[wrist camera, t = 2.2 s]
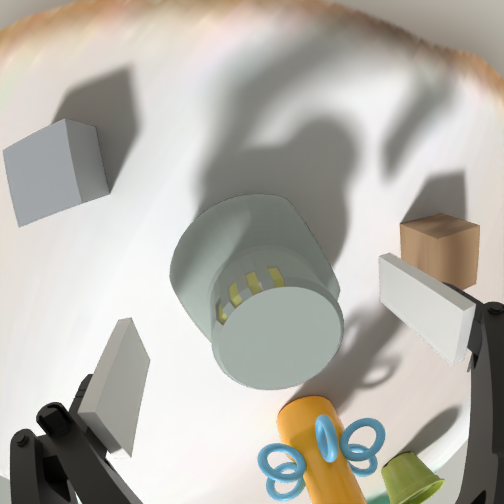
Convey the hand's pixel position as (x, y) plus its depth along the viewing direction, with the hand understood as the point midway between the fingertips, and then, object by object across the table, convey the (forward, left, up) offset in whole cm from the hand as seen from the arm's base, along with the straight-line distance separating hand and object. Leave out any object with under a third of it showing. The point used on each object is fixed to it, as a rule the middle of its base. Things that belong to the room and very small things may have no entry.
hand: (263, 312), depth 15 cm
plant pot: (-16, +39, -8) cm, 43 cm away
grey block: (+11, -10, -7) cm, 16 cm away
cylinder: (-2, +17, -8) cm, 19 cm away
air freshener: (0, 0, -8) cm, 8 cm away
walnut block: (-15, +2, -7) cm, 17 cm away
